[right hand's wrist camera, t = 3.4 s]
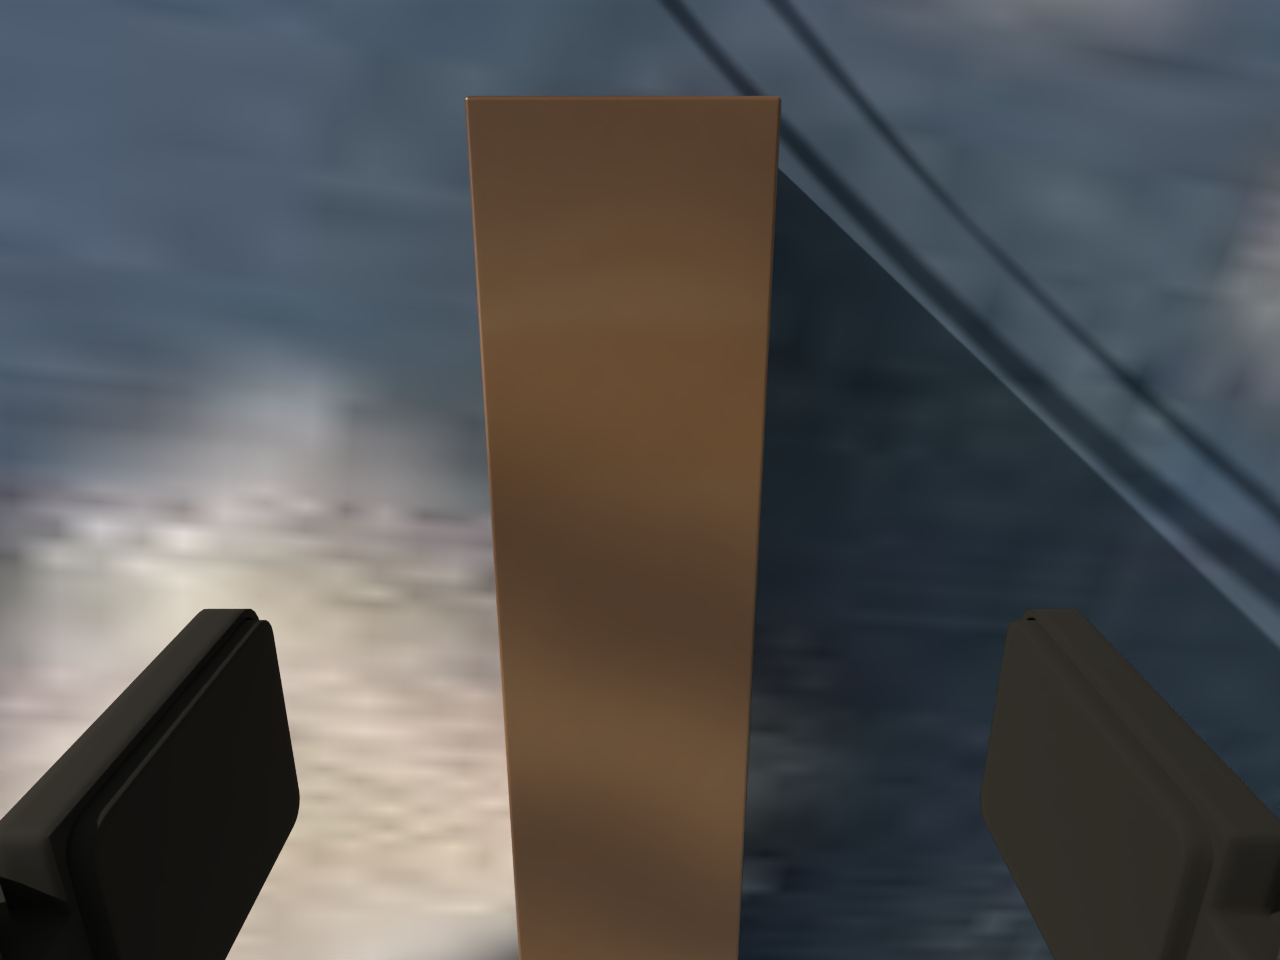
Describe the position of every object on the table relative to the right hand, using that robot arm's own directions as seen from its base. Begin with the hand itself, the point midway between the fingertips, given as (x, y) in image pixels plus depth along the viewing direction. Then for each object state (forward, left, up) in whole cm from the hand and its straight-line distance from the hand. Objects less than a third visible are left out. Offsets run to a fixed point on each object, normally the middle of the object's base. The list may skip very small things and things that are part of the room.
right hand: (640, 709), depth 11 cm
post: (+28, -13, -13) cm, 33 cm away
